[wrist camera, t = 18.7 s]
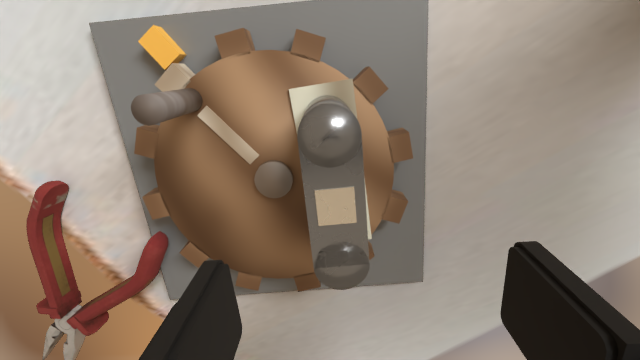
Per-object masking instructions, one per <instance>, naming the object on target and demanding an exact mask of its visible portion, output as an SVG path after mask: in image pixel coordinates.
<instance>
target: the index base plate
mask: <svg viewBox="0 0 640 360" xmlns="http://www.w3.org/2000/svg"><path fill="white" fill-rule="evenodd" d="M89 25H90V29H91V32H92V35H93V39H94V42H95V46H96V49H97V52H98V56H99V59H100V63H101V66H102V69H103V73H104V76H105V80H106V83H107V86H108V90H109V93H110V97H111V100H112V103H113V107H114V110H115V114H116V117H117V120H118V124H119V127H120V131H121V134H122V137H123V141H124V144H125V148H126V151H127V154H128V158H129V161H130V165H131V168H132V171H133V175H134V178H135V182H136V185H137V188H138V192H139V195H140V199H141V202H142V205H143V209H144V212H145V216H146V219H147V222H148V226H149V229H150V233H151V236H153V235H155V234H156V233H157V232H159V231H161V232H163V233H164V234H166V235H167V237H168V241H169V242H168V247H167V250H166V253H165V256H164V258H163V261H162V264H161V270H162V273H163V277H164V280H165V284H166V287H167V290H168V294H169V297H170V300H172V299H180V297H181V296H182V294H183V293H184V291H185V290H186V288H187V286H188V285H189V283H190V282H191V280H192V279H193V277H194V276H195V274H196V272H197V271H198V269H199V268H200V267H199V268H198V267H196V266H195V265H194V264H193V263H191V262H190V261H189V260H187V259H186V258H185V257H184V256H182V255H181V254H180V253H179V252H180V251H181V250H182V249H183V247H184V246H185V245H186V243H187V242H188V241H189V240H188V239H187V238H186V237H185V236H184V235H183V234H182V232H181V231H180V230H179V229H178V227H177V226H176V225H175V223H174V222H173V220H172V219H171V217H170V216H166V217H162V218H158V219H154V220H152V218H151V215H150V213H149V211H148V209H147V207H146V205H145V203H144V200H143V198H142V197H143V196H144V195H146V194H147V193H148V192H150V191H151V190H153V189H154V188H157V187H158V185H157V181H156V176H155V166H154V159H153V158H149V157H145V156H141V155H137V154H134V151H135V140H136V130H137V127H140V126H144V125H143V124H141V123H139V122H138V121H137V120H136V119H135V118H134V116H133V114H132V112H131V103H132V101H133V99H134V98H135V97H136V96H138V95H142V94H149V93H157V92H162V91H161V90H160V89H159V88H158V87H156V86H155V83H156V82H157V81H158V80H159V78H160V77H161V76H162V75H163V74H164V72H165V71H166V70H167V69H168V68H169V66H170V65H171V64H172V63H181V64H185V65H186V66H187V67H188V68H189V69H190V70H191V71H192V72H193V73H194V74H197V73H198V72H200V71H201V70H202V69H204V68H205V67H207V66H209V65H211V64H213V63H215V62H216V61H218V60H221V59H222V58H221V55H220V52H219V49H218V46H217V43H216V40H215V37H214V36H216V35H219V34H223V33H226V32H230V31H233V30H237V29H240V28H245V29H247V30H248V31H250V34H251V37H252V41H253V44H254V47H255V51H257V50H279V51H289V52H291V49H292V45H293V40H294V36H295V32H296V29H299V30H302V31H306V32H309V33H312V34H315V35H318V36H322V37H325V38H326V40H325V44H324V48H323V51H322V55H321V59H320V61H322V62H324V63H325V64H327V65H329V66H331V67H333V68H335V69H336V70H338V71H339V72H341V73H342V74H343V75H345V76H346V77H347V78H349V79H354V78H355V77H356V76H357V75H358V74H359V73H360V72H361V71H362V70H363V69H364V68H365V67H370V68H371V69H372V70H373V71H374V72H375V73H376V75H377V76H378V77H379V78H380V79H381V80H382V81H383V83H384V84H385V85H386V86H387V87H388V88H389V89H388V90H387V91H386V92H385V93H384V94H383V95H381V96H380V97H379V98H378V99H377V100H376V101H375V102H374V103H373V105H374V106H375V108H376V110H377V112H378V113H379V115H380V117H381V119H382V120H383V123H384V125H385V128H386V130H387V131H390V130H394V129H398V128H404V129H405V130H407V131H408V132H409V135H410V141H411V147H412V153H413V159H408V160H404V161H400V162H396V163H394V180H393V186H392V189H393V190H396V191H400V192H402V193H403V194H404V196H405V197H406V199H407V200H408V203H407V206H406V208H405V211H404V213H403V216H402V218H401V221H400V223H399V224H398V223H394V222H390V221H387V220H383V219H382V220H381V222H380V223H379V225H378V226H377V228H376V230H375V231H374V233H373V234H372V235H371V236H372V239H368V241H369V242H370V243H371V245H372V248H373V252H374V255H375V256H374V257H373V258H372V259H370V260H369V271H368V274H367V276H366V278H365V279H364V280H363V281H362V282H361V283H360V284H358V285H357V286H367V285H381V284H395V283H409V282H423V253H424V201H425V150H426V98H427V46H428V0H311V1H301V2H291V3H281V4H272V5H262V6H252V7H242V8H232V9H222V10H212V11H203V12H193V13H183V14H173V15H163V16H153V17H143V18H133V19H124V20H114V21H104V22H94V23H89ZM155 125H159V126H160V123H158V124H155ZM208 260H213V259H211V258H208V259H207V260H206V261H208ZM229 269H230V268H229ZM230 273H231V278H232V282H233V287H234V291H235V295H241V294H255V293H269V292H283V291H297V287H296V284H295V280H294V278H281V279H276V278H263V277H262V279H261V283H260V286H259V290H258V291H256V290H251V289H247V288H243V287H239V286H235V285H236V280H237V276H238V271H235V270H233V269H230ZM325 288H330V287H327V286H326V285H324V284H323V283H321V287H319V288H314V289H325ZM309 290H311V289H309Z"/></svg>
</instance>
